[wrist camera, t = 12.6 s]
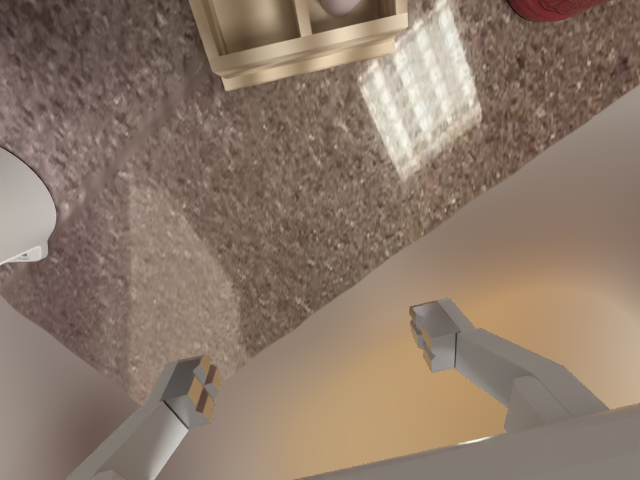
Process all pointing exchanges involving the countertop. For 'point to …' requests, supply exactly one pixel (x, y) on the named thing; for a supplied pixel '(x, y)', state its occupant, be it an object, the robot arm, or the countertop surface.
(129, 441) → the robot arm
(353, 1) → the smoothie
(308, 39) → the wooden divided tray
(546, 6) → the canister
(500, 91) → the countertop surface
